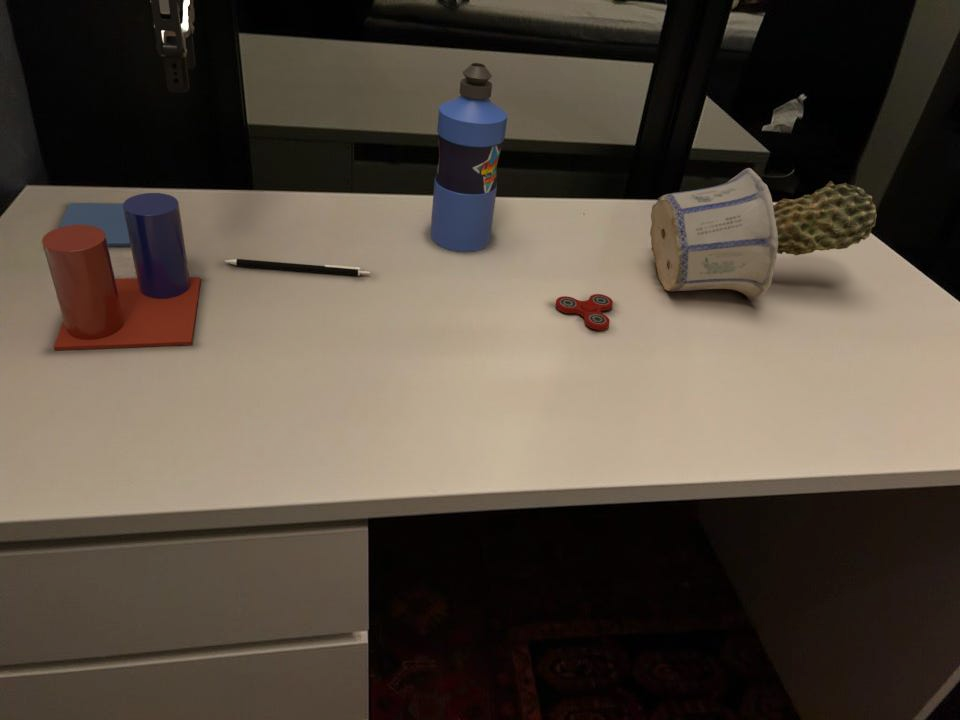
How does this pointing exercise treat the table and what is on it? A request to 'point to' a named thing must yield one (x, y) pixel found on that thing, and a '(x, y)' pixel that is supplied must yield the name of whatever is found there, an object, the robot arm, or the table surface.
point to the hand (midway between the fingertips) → (182, 79)
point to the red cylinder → (84, 281)
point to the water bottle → (467, 164)
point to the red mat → (144, 320)
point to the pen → (299, 267)
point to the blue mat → (100, 220)
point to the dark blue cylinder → (157, 244)
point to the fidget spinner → (588, 309)
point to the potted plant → (749, 232)
